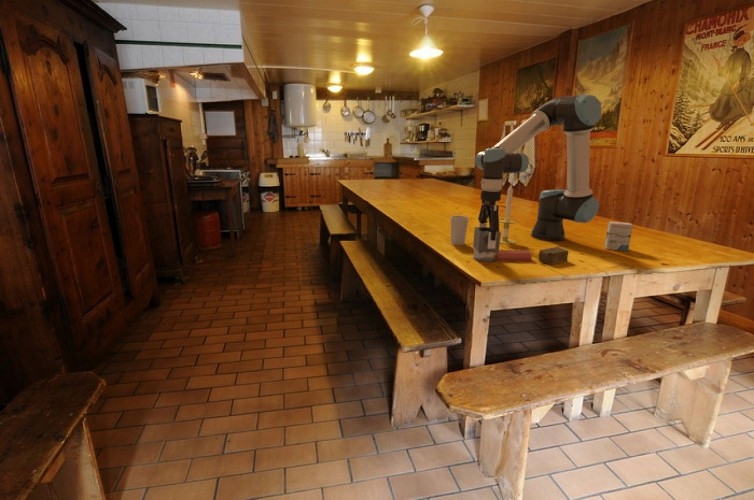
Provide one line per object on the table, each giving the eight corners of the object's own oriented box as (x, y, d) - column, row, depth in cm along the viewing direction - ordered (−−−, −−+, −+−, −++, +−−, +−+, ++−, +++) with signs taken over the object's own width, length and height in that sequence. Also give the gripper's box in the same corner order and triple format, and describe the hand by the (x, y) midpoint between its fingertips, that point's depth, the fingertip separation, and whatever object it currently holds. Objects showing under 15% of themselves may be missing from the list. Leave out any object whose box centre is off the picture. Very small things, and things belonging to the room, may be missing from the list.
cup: (466, 246, 177) (468, 219, 174) (448, 244, 179) (450, 218, 175) (466, 241, 185) (468, 216, 181) (449, 240, 186) (450, 215, 183)
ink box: (625, 248, 178) (630, 222, 174) (628, 251, 173) (633, 225, 170) (604, 246, 180) (608, 221, 177) (606, 249, 176) (610, 223, 172)
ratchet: (524, 255, 165) (527, 235, 162) (533, 262, 156) (536, 241, 154) (470, 255, 164) (472, 235, 162) (476, 262, 156) (478, 240, 153)
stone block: (536, 261, 158) (538, 249, 157) (556, 257, 163) (557, 246, 162) (548, 265, 153) (550, 253, 152) (568, 261, 159) (570, 249, 157)
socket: (492, 246, 163) (494, 227, 160) (498, 252, 155) (500, 232, 153) (473, 246, 163) (474, 227, 160) (478, 251, 155) (480, 231, 153)
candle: (492, 238, 192) (498, 181, 184) (514, 239, 190) (521, 182, 182) (494, 243, 182) (500, 184, 175) (517, 244, 181) (524, 185, 173)
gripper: (473, 185, 164) (469, 235, 170) (491, 194, 140) (485, 252, 146) (491, 185, 164) (486, 235, 170) (512, 195, 140) (506, 252, 146)
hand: (486, 243), depth 158 cm, fingers open, 13 cm apart
